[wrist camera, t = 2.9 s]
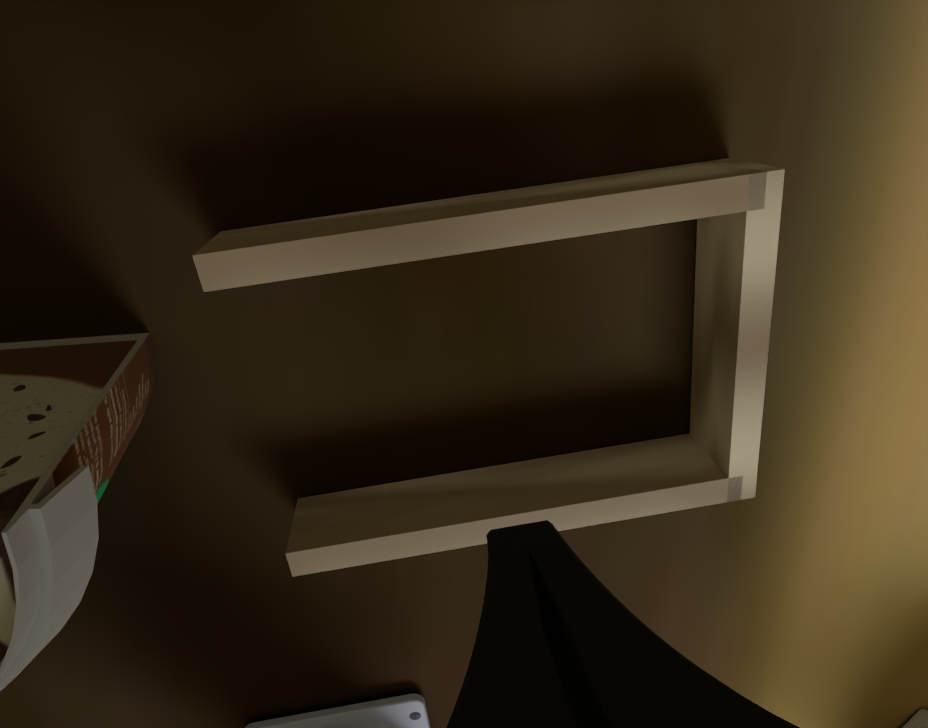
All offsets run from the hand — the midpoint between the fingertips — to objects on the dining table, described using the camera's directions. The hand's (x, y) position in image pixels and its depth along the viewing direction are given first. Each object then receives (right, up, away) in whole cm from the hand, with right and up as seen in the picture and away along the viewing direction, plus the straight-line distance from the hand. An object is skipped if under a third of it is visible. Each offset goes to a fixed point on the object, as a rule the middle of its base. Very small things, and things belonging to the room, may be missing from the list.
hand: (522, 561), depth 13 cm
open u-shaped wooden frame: (-1, +4, +8) cm, 9 cm away
